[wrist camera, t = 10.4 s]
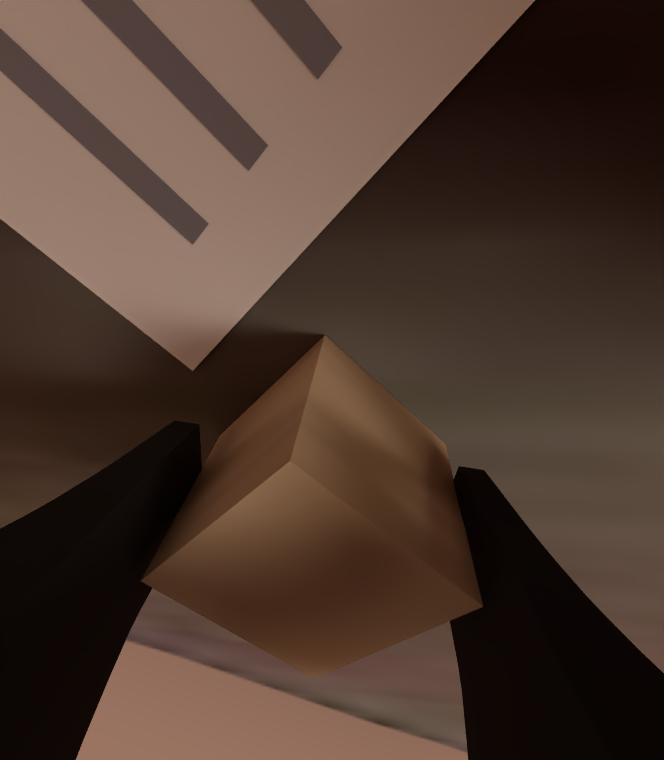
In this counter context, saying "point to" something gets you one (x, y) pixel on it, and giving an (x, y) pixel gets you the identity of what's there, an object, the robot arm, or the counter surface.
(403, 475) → the maple block
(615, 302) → the counter surface
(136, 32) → the letter
